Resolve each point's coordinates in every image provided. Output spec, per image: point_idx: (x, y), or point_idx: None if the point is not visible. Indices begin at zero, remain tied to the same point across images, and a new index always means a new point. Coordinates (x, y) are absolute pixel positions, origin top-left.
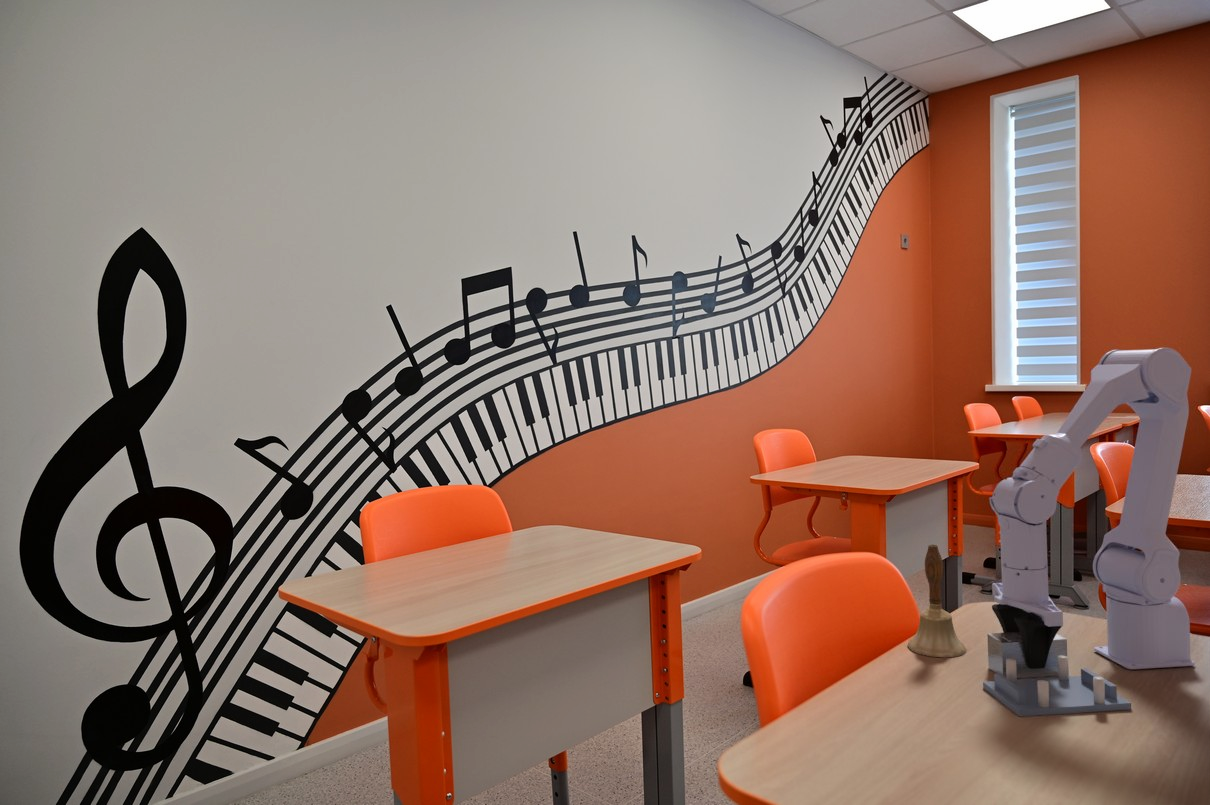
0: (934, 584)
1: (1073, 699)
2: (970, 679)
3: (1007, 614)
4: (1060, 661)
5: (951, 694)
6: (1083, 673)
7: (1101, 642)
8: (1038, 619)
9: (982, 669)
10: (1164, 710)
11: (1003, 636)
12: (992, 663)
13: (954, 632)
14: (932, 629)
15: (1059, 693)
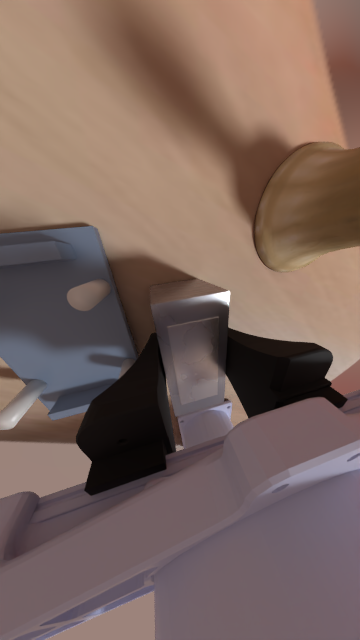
0: None
1: (36, 358)
2: (145, 220)
3: (261, 371)
4: None
5: (26, 105)
6: None
7: None
8: (89, 477)
9: (194, 266)
10: (65, 424)
11: (199, 323)
12: (187, 282)
13: (313, 248)
14: (346, 169)
15: (61, 346)
